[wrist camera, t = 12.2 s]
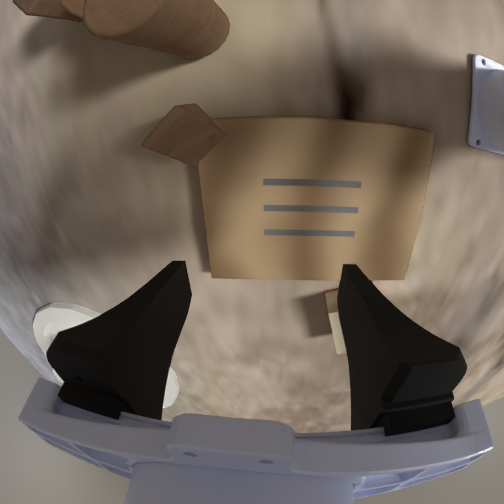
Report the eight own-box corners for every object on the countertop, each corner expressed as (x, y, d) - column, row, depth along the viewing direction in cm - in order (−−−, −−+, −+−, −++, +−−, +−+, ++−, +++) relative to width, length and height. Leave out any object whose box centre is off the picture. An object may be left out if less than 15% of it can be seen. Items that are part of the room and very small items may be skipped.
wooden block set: (64, 27, 15) (-31, 25, 6) (131, -50, 11) (52, -93, 2) (201, 161, 20) (132, 219, 11) (295, 79, 16) (300, 58, 8)
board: (427, 130, 18) (434, 133, 17) (399, 271, 25) (403, 279, 24) (198, 119, 19) (194, 121, 18) (214, 269, 26) (211, 278, 25)
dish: (39, 268, 29) (-12, 331, 20) (209, 368, 35) (192, 447, 26) (36, 352, 41) (10, 397, 32) (150, 416, 47) (136, 466, 38)
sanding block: (371, 278, 26) (379, 301, 23) (374, 321, 29) (381, 344, 26) (323, 289, 27) (327, 313, 24) (333, 331, 30) (336, 354, 27)
